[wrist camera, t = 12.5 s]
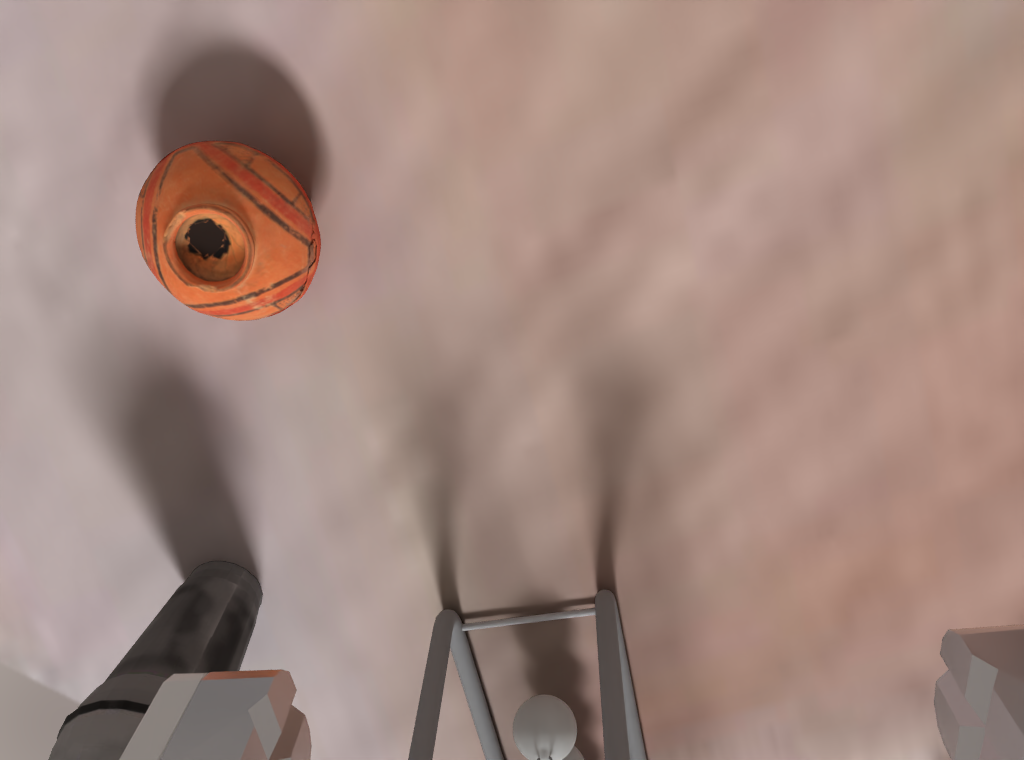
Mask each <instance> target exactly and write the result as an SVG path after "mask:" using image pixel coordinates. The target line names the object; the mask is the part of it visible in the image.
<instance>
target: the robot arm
mask: <svg viewBox="0 0 1024 760" xmlns="http://www.w3.org/2000/svg"><path fill="white" fill-rule="evenodd" d="M940 655H941V657H942V658H943V660H944V662H945V664H946V665H947V667H948V669H949V670H948V671H947V672H946V673H944V674H943V675H942V676H941V677H940V678H939V679H938V680H937V681H936V687H935V697H934V706H935V712H936V719H937V725H938V728H939V731H940V734H941V737H942V740H943V743H944V745H945V747H946V749H947V751H948V753H949V755H950V757H951V759H952V760H1024V624H1022V625H1008V626H993V627H979V628H964V629H950V630H948V631H947V632H946V634H945V635H944V637H943V639H942V645H941V651H940ZM295 693H296V687H295V685H294V682H293V680H292V677H291V675H290V672H288V671H285V670H257V671H226V672H210V673H187V674H173V675H172V676H171V677H169V678H168V679H167V680H166V681H164V682H163V684H162V685H161V687H160V689H159V691H158V692H157V694H156V696H155V698H154V699H153V701H152V703H151V705H150V706H149V708H148V710H147V712H146V713H145V715H144V717H143V719H142V720H141V722H140V724H139V726H138V727H137V729H136V731H135V733H134V734H133V736H132V738H131V740H130V742H129V743H128V745H127V747H126V749H125V750H124V752H123V754H122V756H121V757H120V759H119V760H310V757H311V738H310V729H309V726H308V723H307V720H306V716H305V715H304V714H303V713H302V712H300V711H299V710H298V709H297V708H295V707H294V706H293V705H291V704H292V702H293V699H294V696H295Z"/></svg>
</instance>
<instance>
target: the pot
mask: <svg viewBox="0 0 1024 760" xmlns="http://www.w3.org/2000/svg"><path fill="white" fill-rule="evenodd" d="M136 232H137V239H138V243H139V247H140V250H141V252H142V256H143V258H144V260H145V262H146V264H147V265H148V267H149V269H150V270H151V271H152V273H153V274H154V276H155V277H156V278H157V279H158V281H159V282H160V283H161V284H162V285H163V286H164V287H165V288H166V289H167V290H168V291H169V292H170V293H171V294H172V295H173V296H174V297H175V298H177V299H178V300H179V301H180V302H182V303H183V304H185V305H186V306H188V307H189V308H191V309H193V310H195V311H197V312H200V313H203V314H206V315H210V316H213V317H217V318H222V319H227V320H239V321H243V320H257V319H261V318H265V317H269V316H272V315H275V314H277V313H280V312H282V311H283V310H285V309H286V308H288V307H290V306H291V305H293V304H294V303H295V302H297V301H298V300H299V299H300V298H301V297H302V296H303V295H304V294H305V292H306V291H307V289H308V287H309V285H310V283H311V281H312V279H313V276H314V274H315V272H316V269H317V265H318V261H319V256H320V249H321V239H320V233H319V228H318V224H317V221H316V218H315V214H314V211H313V208H312V204H311V202H310V200H309V199H308V196H307V194H306V193H305V191H304V189H303V188H302V186H301V185H300V184H299V182H298V181H297V180H296V179H295V178H294V176H293V175H292V174H291V173H290V172H289V171H288V170H287V169H286V168H285V167H283V166H282V165H281V164H280V163H279V162H277V161H276V160H274V159H273V158H271V157H270V156H268V155H266V154H265V153H263V152H261V151H259V150H256V149H254V148H251V147H249V146H247V145H245V144H241V143H236V142H228V141H203V142H196V143H192V144H188V145H186V146H183V147H181V148H179V149H177V150H175V151H173V152H172V153H170V154H168V155H167V156H166V157H164V158H163V159H162V160H161V161H160V162H159V163H158V164H157V165H156V167H155V168H154V169H153V171H152V172H151V173H150V175H149V177H148V178H147V180H146V181H145V183H144V185H143V187H142V189H141V191H140V194H139V198H138V201H137V207H136Z"/></svg>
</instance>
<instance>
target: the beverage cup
mask: <svg viewBox="0 0 1024 760" xmlns="http://www.w3.org/2000/svg"><path fill="white" fill-rule="evenodd" d="M262 595H263V594H262V590H261V587H260V584H259V583H258V581H257V580H256V579H255V577H254V576H253V575H252V574H250V573H249V572H248V571H247V570H246V569H244V568H242V567H240V566H238V565H236V564H233V563H228V562H224V561H215V562H208V563H205V564H202V565H200V566H199V567H198V568H196V569H195V570H194V571H193V572H192V574H191V575H190V577H189V578H187V580H186V581H185V582H184V583H183V584H182V585H181V586H180V587H179V588H178V589H177V590H176V592H175V593H174V594H173V595H172V597H171V598H170V599H169V601H168V602H167V603H166V604H165V606H164V607H163V608H162V609H161V611H160V612H159V613H158V615H157V616H156V617H155V618H154V620H153V621H152V622H151V623H150V625H149V626H148V627H147V629H146V630H145V631H144V632H143V634H142V635H141V636H140V637H139V639H138V640H137V641H136V643H135V644H134V645H133V646H132V648H131V649H130V650H129V651H128V653H127V654H126V655H125V657H124V658H123V659H122V660H121V662H120V663H119V664H118V665H117V667H116V668H115V669H114V670H113V672H112V673H111V674H110V676H109V677H108V678H107V679H106V681H105V682H104V683H103V684H102V685H100V686H99V687H98V688H96V689H95V690H94V691H93V692H92V693H91V694H90V695H89V696H88V697H87V698H86V699H85V700H84V701H83V702H82V703H81V705H80V706H79V707H78V709H77V710H75V711H74V712H73V713H71V714H70V715H68V716H67V717H66V719H65V721H64V723H63V725H62V727H61V729H60V731H59V734H58V737H57V741H56V743H55V745H54V747H53V749H52V751H51V754H50V757H49V760H119V759H120V757H121V756H122V754H123V752H124V750H125V749H126V747H127V745H128V743H129V742H130V740H131V738H132V736H133V734H134V733H135V731H136V729H137V727H138V726H139V724H140V722H141V720H142V719H143V717H144V715H145V713H146V712H147V710H148V708H149V706H150V705H151V703H152V701H153V699H154V698H155V696H156V694H157V692H158V691H159V689H160V687H161V685H162V684H163V682H164V681H166V680H167V679H168V678H169V677H171V676H172V675H173V674H187V673H210V672H226V671H239V670H240V667H241V664H242V661H243V658H244V655H245V653H246V650H247V647H248V644H249V641H250V638H251V635H252V632H253V630H254V627H255V624H256V618H257V614H258V610H259V607H260V605H261V603H262Z"/></svg>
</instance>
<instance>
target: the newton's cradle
mask: <svg viewBox="0 0 1024 760" xmlns="http://www.w3.org/2000/svg"><path fill="white" fill-rule="evenodd" d="M589 615H596V629H597V644H598V660H599V675H600V691H601V706H602V722H603V737H604V753H605V760H647V759H646V754H645V749H644V744H643V738H642V733H641V728H640V723H639V718H638V712H637V707H636V702H635V697H634V691H633V686H632V681H631V676H630V671H629V665H628V660H627V655H626V650H625V645H624V639H623V634H622V629H621V624H620V618H619V613H618V608H617V603H616V599H615V596H614V594H613V593H612V592H611V591H609V590H606V589H605V590H601V591H599V592H598V593H597V594H596V597H595V608H589V609H581V610H573V611H565V612H557V613H549V614H541V615H533V616H525V617H516V618H508V619H500V620H492V621H484V622H476V623H468V624H462V622H461V619H460V617H459V616H458V614H457V613H456V612H455V611H453V610H448V609H446V610H443V611H441V612H440V613H439V615H438V616H437V617H436V620H435V623H434V627H433V632H432V637H431V643H430V648H429V653H428V658H427V664H426V669H425V674H424V679H423V685H422V690H421V695H420V700H419V706H418V711H417V716H416V722H415V727H414V732H413V737H412V743H411V748H410V753H409V758H408V760H432V758H433V751H434V745H435V739H436V733H437V726H438V720H439V714H440V707H441V701H442V695H443V689H444V682H445V676H446V670H447V664H448V657H449V651H450V648H451V651H452V655H453V658H454V661H455V664H456V667H457V670H458V673H459V677H460V680H461V683H462V686H463V689H464V692H465V695H466V699H467V702H468V705H469V708H470V711H471V714H472V717H473V721H474V724H475V727H476V730H477V733H478V736H479V739H480V743H481V746H482V749H483V752H484V755H485V758H486V760H504V759H503V755H502V752H501V749H500V746H499V742H498V739H497V736H496V732H495V729H494V726H493V723H492V719H491V716H490V713H489V709H488V706H487V703H486V700H485V696H484V693H483V690H482V686H481V683H480V680H479V677H478V673H477V670H476V667H475V663H474V660H473V657H472V654H471V650H470V647H469V644H468V640H467V637H466V634H465V631H467V630H475V629H483V628H491V627H499V626H508V625H516V624H524V623H532V622H540V621H549V620H557V619H565V618H573V617H581V616H589ZM513 736H514V740H515V743H516V745H517V747H518V749H519V751H520V752H521V753H522V754H523V755H524V756H525V757H526V758H527V759H528V760H584V757H583V755H582V754H581V753H580V751H579V750H578V749H577V748H576V747H575V746H574V744H575V741H576V736H577V724H576V719H575V717H574V714H573V712H572V710H571V709H570V708H569V706H568V705H567V704H566V703H565V702H564V701H562V700H561V699H559V698H557V697H555V696H552V695H537V696H534V697H532V698H530V699H528V700H527V701H525V702H524V703H523V704H522V705H521V707H520V708H519V709H518V711H517V713H516V715H515V718H514V722H513Z"/></svg>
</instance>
